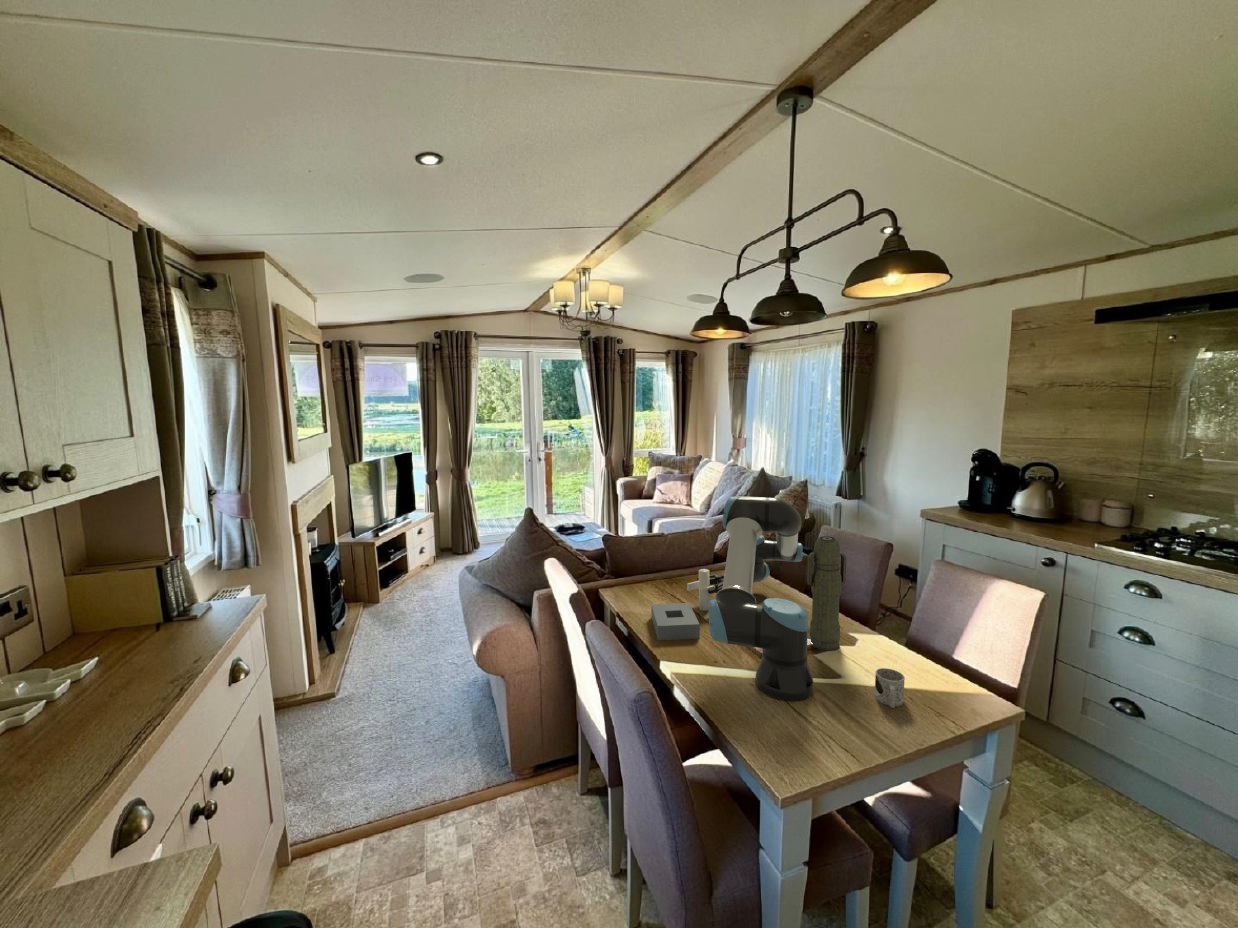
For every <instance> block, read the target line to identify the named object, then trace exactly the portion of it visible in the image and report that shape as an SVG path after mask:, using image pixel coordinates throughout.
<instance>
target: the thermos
mask: <svg viewBox="0 0 1238 928" xmlns="http://www.w3.org/2000/svg"><path fill="white" fill-rule="evenodd" d="M813 547H814V548H813V551H812V552H810V553H808V555H807V559H806V560H807V565H806V567H807V568H806V580H807V581H806V582H807V585H808V586H811V587H810V588H811V593H812V601H811V602H812V603H811V605H812V606H811V607H812V608H811V611H812V613H811V620H810V623H809V636H810V640H811V642H812V643H813V646H812V647H814V648H815V649H819V650H821V651H825V652H827V651H828V652H832V651H836V650H838V649H839V648H840V640H841V624H840V621H839V620H840V619H839V618H840V596H841V595H842V586H843V585H844V584H846V580H847V579H846V578H847V576H846V575H847V556H846V555H845V554H844V553H843V552H842V551H841V546H840V543H839V540H838V539H837V538H836V537H833V536H827V535H824V536H819V537H817V539H816V540H815V543H814V546H813ZM813 562H814V563H813Z"/></svg>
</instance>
